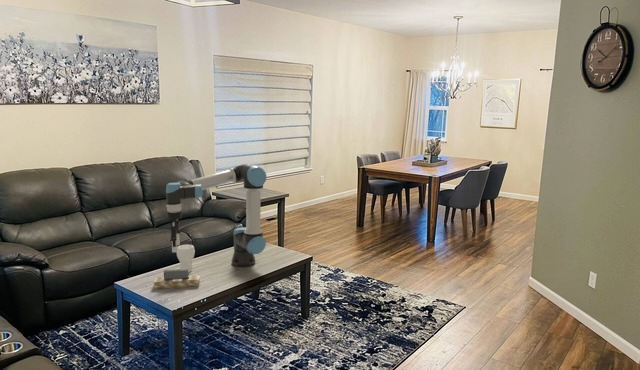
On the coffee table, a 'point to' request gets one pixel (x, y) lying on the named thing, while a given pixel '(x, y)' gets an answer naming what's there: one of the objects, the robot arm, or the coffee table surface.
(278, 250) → the coffee table surface
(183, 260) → the cup
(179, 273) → the grey block
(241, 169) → the robot arm
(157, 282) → the rail
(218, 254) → the coffee table surface
